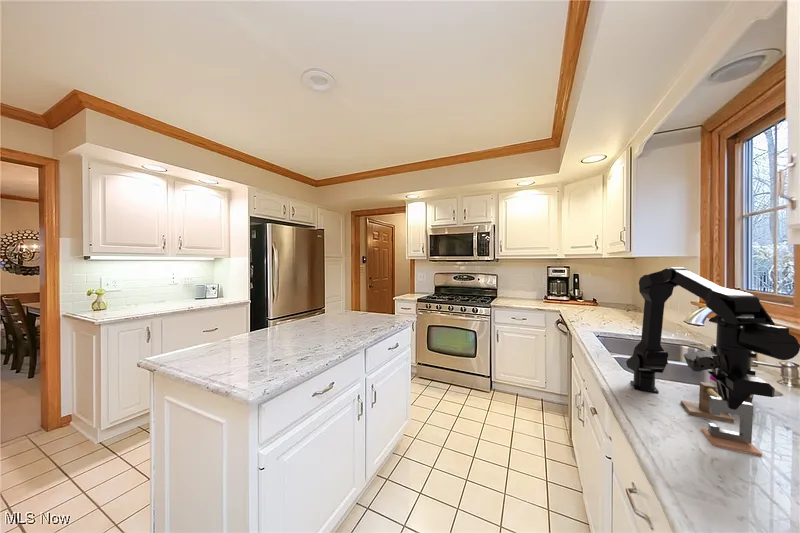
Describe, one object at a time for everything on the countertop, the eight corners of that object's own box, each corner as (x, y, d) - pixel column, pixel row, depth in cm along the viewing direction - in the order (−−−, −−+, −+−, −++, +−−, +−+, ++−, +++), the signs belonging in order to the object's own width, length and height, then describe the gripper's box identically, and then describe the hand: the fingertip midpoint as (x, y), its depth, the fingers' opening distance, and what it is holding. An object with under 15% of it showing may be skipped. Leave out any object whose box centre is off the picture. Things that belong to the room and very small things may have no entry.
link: (708, 432, 74) (709, 395, 73) (747, 440, 71) (749, 402, 70) (710, 435, 73) (712, 398, 72) (751, 444, 69) (753, 405, 69)
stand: (680, 403, 90) (681, 376, 90) (721, 410, 86) (722, 382, 85) (703, 431, 76) (705, 399, 75) (754, 442, 71) (755, 408, 71)
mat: (700, 429, 77) (701, 427, 77) (744, 438, 73) (744, 436, 73) (713, 445, 70) (713, 443, 70) (761, 456, 67) (762, 453, 67)
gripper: (675, 331, 82) (673, 384, 83) (704, 351, 66) (702, 417, 67) (731, 336, 77) (728, 393, 78) (778, 359, 61) (774, 431, 62)
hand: (730, 407), depth 71 cm, fingers closed on link, 1 cm apart
